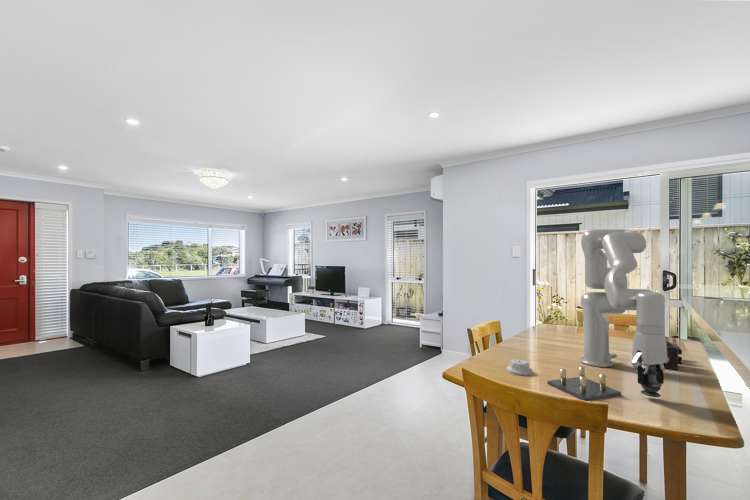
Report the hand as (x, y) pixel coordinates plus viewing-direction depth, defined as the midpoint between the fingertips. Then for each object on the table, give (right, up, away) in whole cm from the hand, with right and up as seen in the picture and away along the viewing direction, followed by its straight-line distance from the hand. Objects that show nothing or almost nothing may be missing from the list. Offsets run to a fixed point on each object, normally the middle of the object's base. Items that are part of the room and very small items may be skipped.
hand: (650, 383), depth 117 cm
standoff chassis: (-17, -6, +9) cm, 20 cm away
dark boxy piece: (+31, -6, +34) cm, 47 cm away
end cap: (+43, -6, +44) cm, 62 cm away
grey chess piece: (0, -4, 0) cm, 4 cm away
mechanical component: (-32, -7, +29) cm, 43 cm away
